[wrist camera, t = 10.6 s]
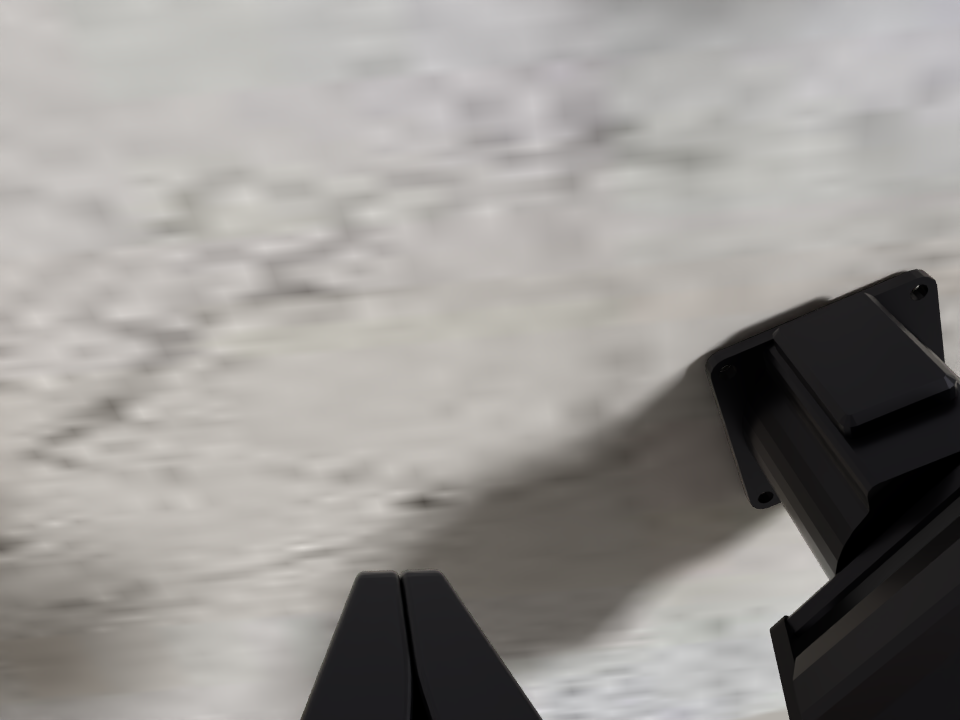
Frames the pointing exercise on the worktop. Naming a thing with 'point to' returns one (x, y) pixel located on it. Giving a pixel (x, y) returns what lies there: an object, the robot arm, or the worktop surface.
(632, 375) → the worktop surface
